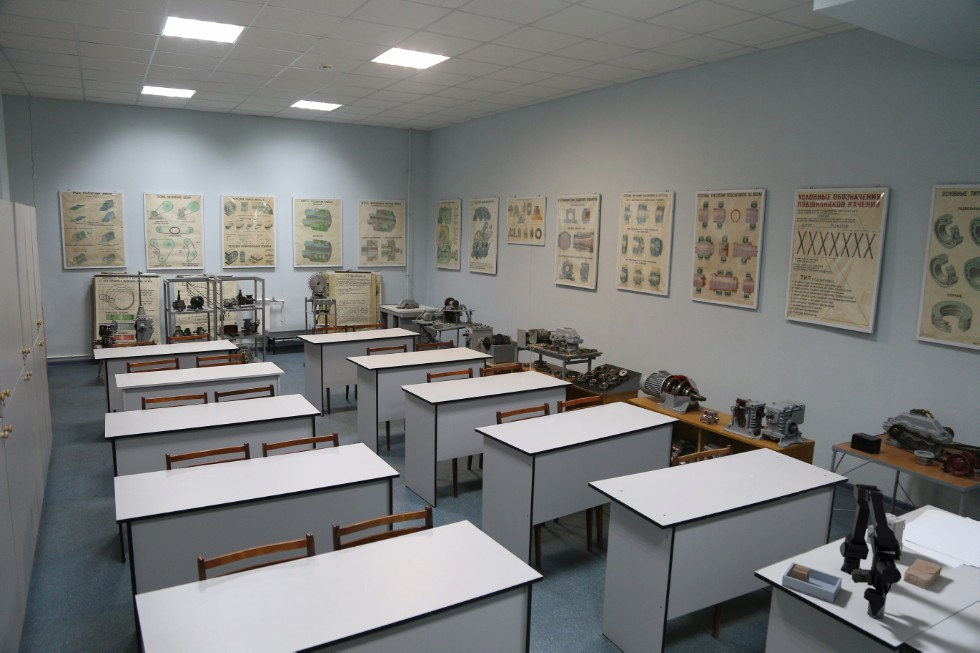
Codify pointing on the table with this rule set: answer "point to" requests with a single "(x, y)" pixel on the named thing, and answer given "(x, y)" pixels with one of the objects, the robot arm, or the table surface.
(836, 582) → the tote
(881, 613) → the steel cylinder
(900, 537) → the circuit breaker
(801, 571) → the walnut cube
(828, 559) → the table surface
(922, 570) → the brick
